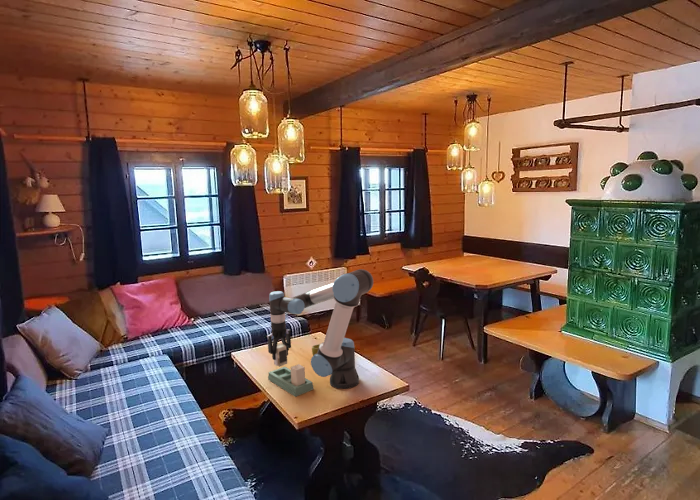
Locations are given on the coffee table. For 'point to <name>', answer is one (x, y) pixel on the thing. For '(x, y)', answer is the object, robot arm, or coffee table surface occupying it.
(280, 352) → the block
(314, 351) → the mug
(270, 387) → the coffee table surface
